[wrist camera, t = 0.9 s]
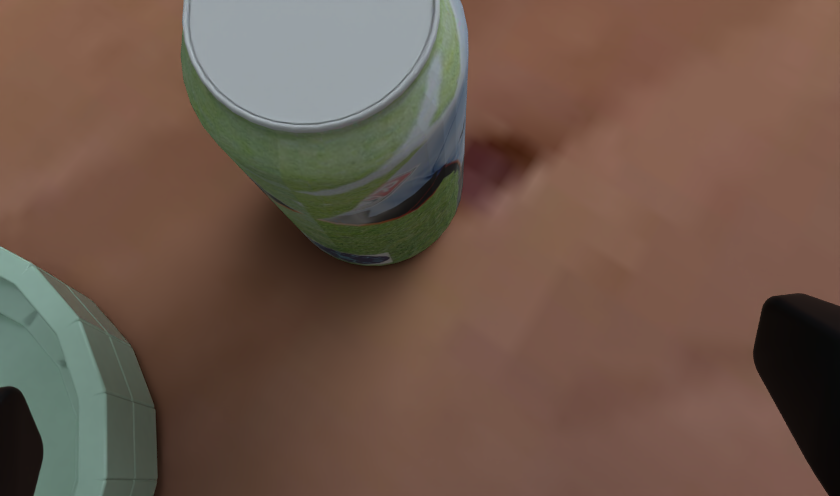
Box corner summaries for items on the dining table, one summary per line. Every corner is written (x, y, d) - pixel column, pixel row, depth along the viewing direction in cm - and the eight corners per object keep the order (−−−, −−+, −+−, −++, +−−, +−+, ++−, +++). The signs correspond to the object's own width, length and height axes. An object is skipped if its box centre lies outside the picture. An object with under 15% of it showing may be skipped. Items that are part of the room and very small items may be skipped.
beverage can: (485, 159, 25) (565, -112, 13) (396, 337, 22) (404, 190, 11) (333, 91, 25) (287, -223, 14) (231, 258, 23) (81, 43, 12)
